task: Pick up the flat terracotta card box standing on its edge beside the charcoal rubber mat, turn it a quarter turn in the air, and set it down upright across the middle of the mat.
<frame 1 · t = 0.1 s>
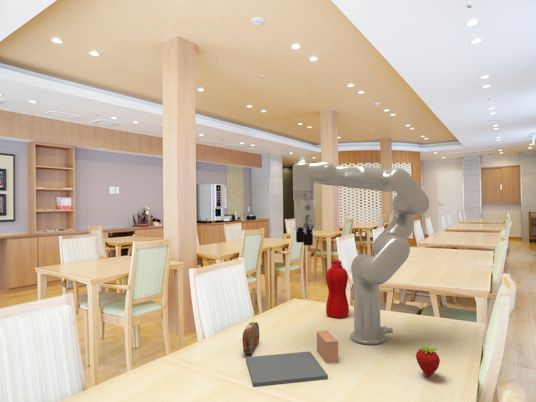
hand: (304, 243, 136), 37 cm above the table, tool pointing down, fingers open, 9 cm apart
brown rounded slab: (251, 349, 133), on the table
card box: (327, 356, 125), on the table
mat: (284, 368, 117), on the table
strawberry: (428, 377, 110), on the table
water bottle: (339, 316, 169), on the table
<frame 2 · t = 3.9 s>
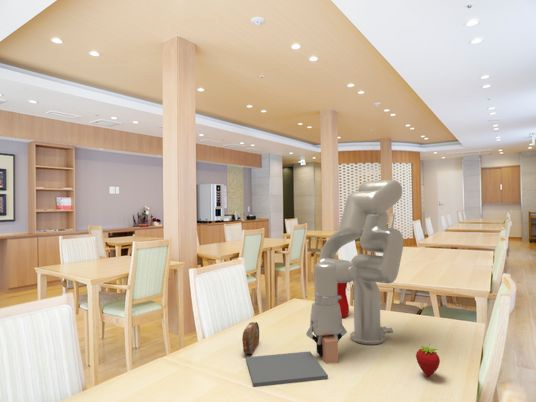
hand: (327, 354, 125), 1 cm above the table, tool pointing down, fingers closed on card box, 4 cm apart
card box: (327, 356, 125), on the table, touching gripper
everything else where it was.
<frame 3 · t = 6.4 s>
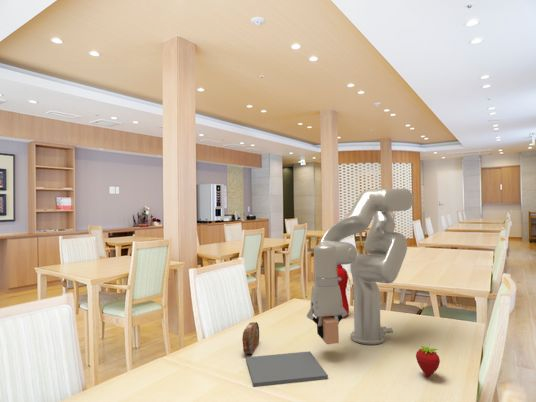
hand: (327, 335, 126), 7 cm above the table, tool pointing down, fingers closed on card box, 4 cm apart
card box: (327, 338, 126), point 6 cm above the table, touching gripper
everything else where it was.
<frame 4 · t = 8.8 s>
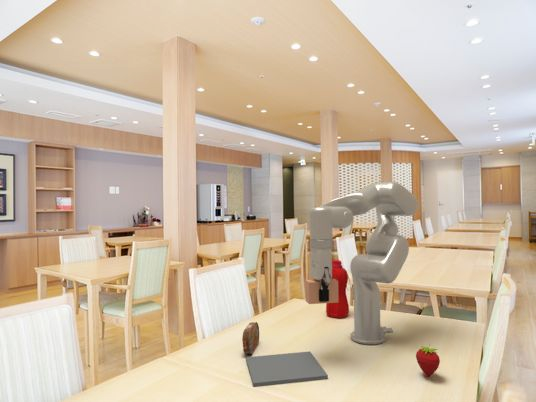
hand: (321, 299, 124), 20 cm above the table, tool pointing down, fingers closed on card box, 4 cm apart
card box: (321, 301, 124), point 19 cm above the table, touching gripper
everything else where it was.
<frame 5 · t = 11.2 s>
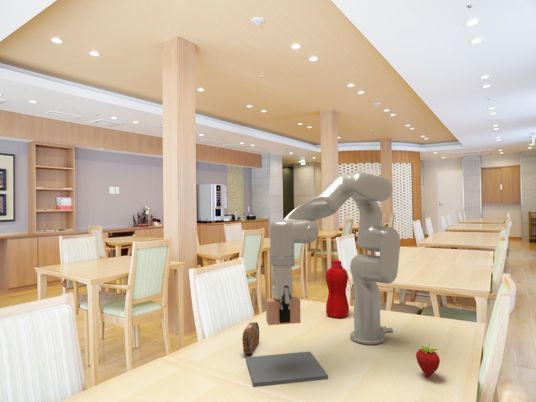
hand: (283, 319, 116), 15 cm above the table, tool pointing down, fingers closed on card box, 4 cm apart
card box: (283, 322, 116), point 15 cm above the table, touching gripper
everything else where it was.
when the fingers open (3 cm above the table, at t = 13.6 s): card box drops 1 cm, resting on mat.
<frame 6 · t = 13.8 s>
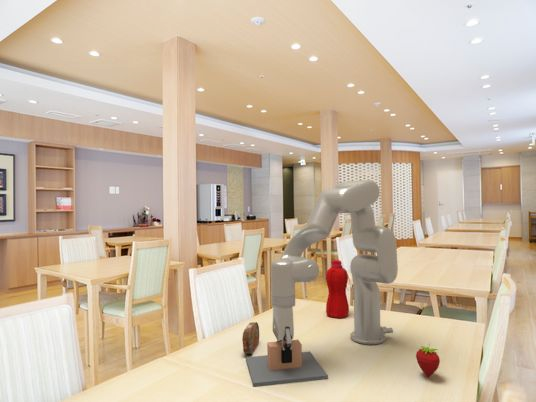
hand: (284, 357, 117), 4 cm above the table, tool pointing down, fingers open, 6 cm apart
card box: (284, 365, 117), point 1 cm above the table, touching mat
everything else where it was.
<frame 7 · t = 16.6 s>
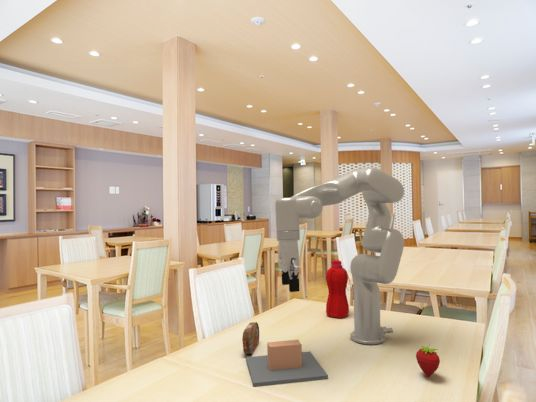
hand: (290, 287, 122), 24 cm above the table, tool pointing down, fingers open, 9 cm apart
nothing on the table moved.
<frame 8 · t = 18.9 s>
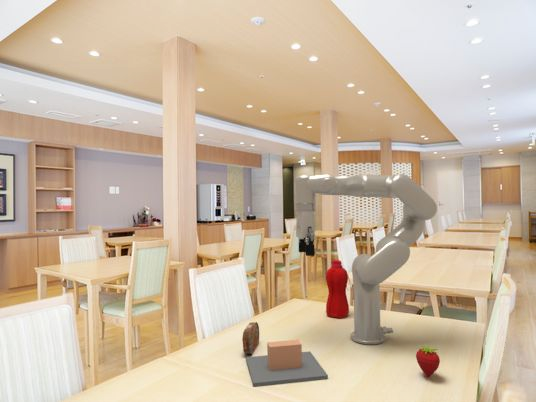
hand: (306, 253, 141), 32 cm above the table, tool pointing down, fingers open, 9 cm apart
nothing on the table moved.
at the end: card box inside the target area on the mat (0.1 cm from its centre), point 1.0 cm above the mat's base; card box tilted 0°; the gripper is holding nothing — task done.
